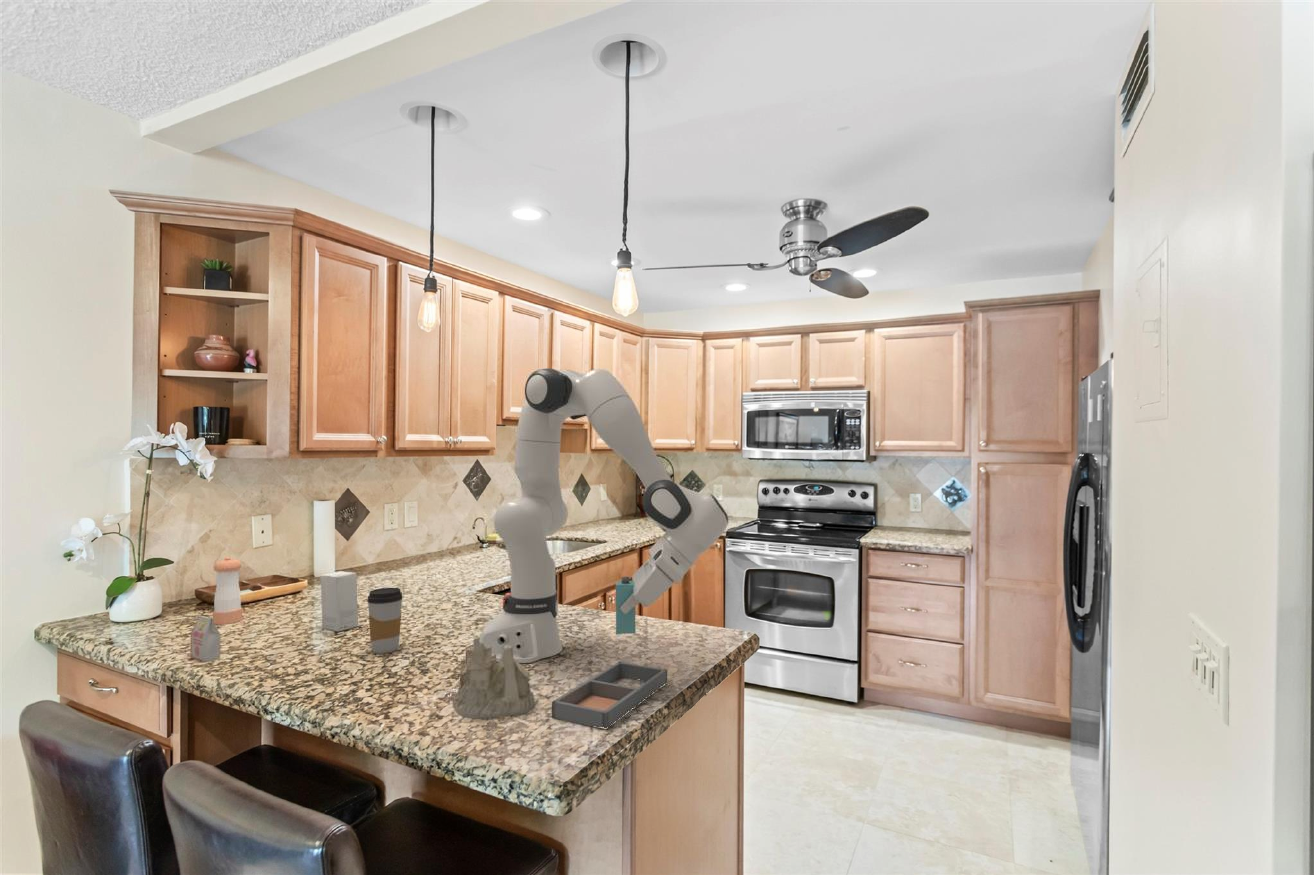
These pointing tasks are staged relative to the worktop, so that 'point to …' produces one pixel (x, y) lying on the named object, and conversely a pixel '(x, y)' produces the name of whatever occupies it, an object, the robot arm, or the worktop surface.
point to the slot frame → (607, 695)
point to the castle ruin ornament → (492, 685)
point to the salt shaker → (227, 592)
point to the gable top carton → (205, 640)
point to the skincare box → (339, 601)
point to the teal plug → (623, 593)
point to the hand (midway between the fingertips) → (622, 607)
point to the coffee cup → (385, 619)
